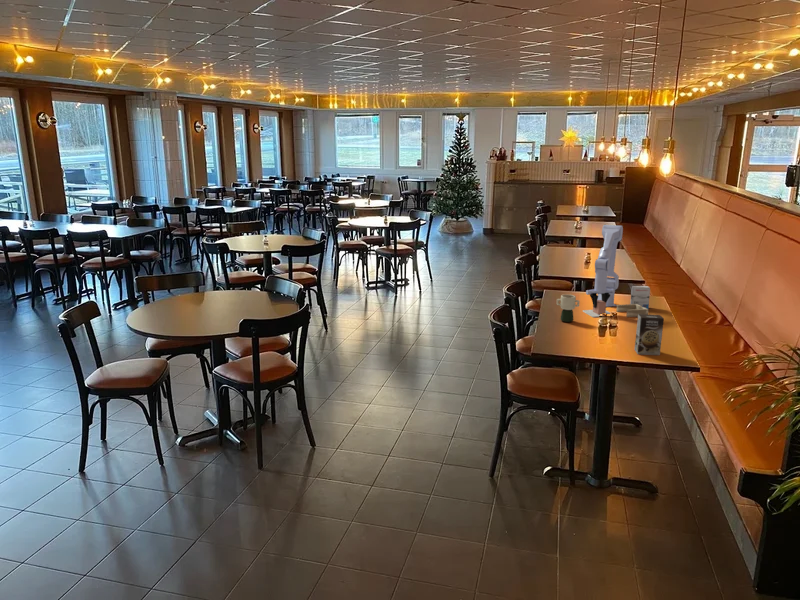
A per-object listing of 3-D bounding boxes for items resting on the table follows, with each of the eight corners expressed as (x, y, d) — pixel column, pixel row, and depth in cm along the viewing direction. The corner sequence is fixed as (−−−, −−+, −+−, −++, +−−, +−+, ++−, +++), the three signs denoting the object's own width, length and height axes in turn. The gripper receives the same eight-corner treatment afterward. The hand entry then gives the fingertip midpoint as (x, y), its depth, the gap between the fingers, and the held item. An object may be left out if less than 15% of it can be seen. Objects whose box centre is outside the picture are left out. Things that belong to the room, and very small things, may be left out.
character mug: (578, 320, 301) (580, 295, 298) (577, 324, 295) (579, 298, 292) (556, 318, 305) (557, 293, 302) (555, 322, 298) (556, 296, 295)
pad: (582, 311, 318) (582, 310, 317) (603, 310, 319) (603, 309, 319) (593, 317, 306) (593, 316, 306) (614, 316, 308) (615, 315, 308)
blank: (592, 311, 315) (593, 300, 313) (599, 310, 315) (600, 299, 314) (598, 314, 309) (598, 303, 307) (605, 314, 310) (606, 302, 308)
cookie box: (637, 354, 251) (641, 317, 247) (634, 349, 257) (637, 313, 253) (660, 355, 249) (664, 318, 245) (656, 350, 255) (660, 314, 251)
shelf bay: (616, 311, 317) (616, 304, 316) (635, 310, 319) (636, 303, 318) (627, 317, 306) (628, 310, 305) (647, 315, 308) (648, 309, 307)
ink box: (645, 306, 326) (647, 285, 323) (648, 309, 321) (650, 287, 318) (629, 306, 326) (631, 285, 323) (632, 309, 322) (634, 287, 319)
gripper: (591, 284, 304) (589, 309, 307) (617, 282, 306) (615, 308, 309) (584, 281, 310) (583, 306, 314) (611, 279, 313) (609, 305, 316)
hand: (598, 307), depth 312 cm, fingers closed on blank, 4 cm apart
